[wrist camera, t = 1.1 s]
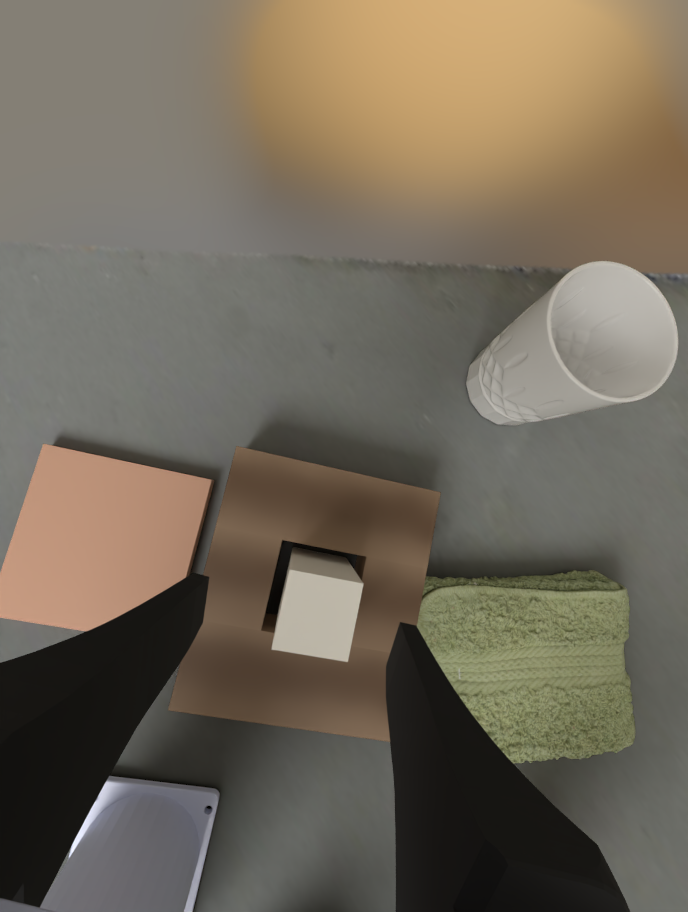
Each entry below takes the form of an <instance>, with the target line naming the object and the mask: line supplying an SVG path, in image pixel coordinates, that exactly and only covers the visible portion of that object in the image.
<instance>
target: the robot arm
mask: <svg viewBox="0 0 688 912" xmlns="http://www.w3.org/2000/svg"><path fill="white" fill-rule="evenodd" d="M208 584H209V577H208V576H204V575H200V574H196V573H193V574H191V575H189V576H188V577H186V578H184V579H182V580H181V581H179V582H178V583H176V584H174V585H173V586H171V587H169V588H168V589H166V590H164V591H163V592H161V593H159V594H158V595H156V596H154V597H153V598H151V599H149V600H147V601H146V602H144V603H142V604H141V605H139V606H137V607H135V608H133V609H131V610H129V611H128V612H126V613H124V614H122V615H120V616H118V617H116V618H114V619H112V620H110V621H108V622H106V623H104V624H102V625H100V626H98V627H95V628H93V629H91V630H89V631H86V632H84V633H82V634H80V635H77V636H75V637H72V638H70V639H67V640H65V641H62V642H59V643H57V644H54V645H51V646H49V647H46V648H44V649H41V650H38V651H36V652H33V653H30V654H27V655H24V656H21V657H18V658H15V659H12V660H8V661H5V662H2V663H0V912H193V908H194V904H195V900H196V896H197V891H198V887H199V883H200V879H201V874H202V870H203V866H204V861H205V857H206V853H207V849H208V844H209V840H210V836H211V832H212V827H213V823H214V819H215V815H216V810H217V806H218V802H219V797H220V794H219V791H218V790H217V789H214V788H207V787H198V786H190V785H182V784H173V783H165V782H157V781H148V780H140V779H132V778H123V777H115V776H109V775H110V774H111V772H112V770H113V768H114V766H115V764H116V763H117V761H118V759H119V757H120V756H121V754H122V752H123V750H124V749H125V747H126V745H127V743H128V742H129V740H130V738H131V736H132V735H133V733H134V731H135V729H136V728H137V726H138V725H139V723H140V721H141V720H142V718H143V717H144V715H145V713H146V712H147V711H148V709H149V708H150V706H151V705H152V703H153V702H154V700H155V699H156V697H157V696H158V694H159V693H160V691H161V690H162V689H163V687H164V686H165V684H166V683H167V681H168V680H169V678H170V677H171V675H172V674H173V672H174V671H175V669H176V668H177V667H178V665H179V664H180V662H181V661H182V659H183V658H184V656H185V655H186V653H187V652H188V650H189V648H190V646H191V645H192V643H193V641H194V639H195V637H196V635H197V633H198V631H199V629H200V627H201V626H202V624H203V619H204V612H205V605H206V598H207V591H208ZM386 705H387V715H388V725H389V735H390V744H391V754H392V764H393V774H394V788H395V827H396V912H630V910H629V908H628V905H627V903H626V901H625V899H624V896H623V894H622V892H621V890H620V888H619V886H618V884H617V882H616V880H615V878H614V876H613V874H612V872H611V870H610V868H609V866H608V864H607V862H606V860H605V858H604V856H603V854H602V853H601V851H600V849H599V847H598V845H597V844H596V843H595V842H594V841H592V840H591V839H590V838H589V837H588V836H587V835H586V834H585V833H584V832H582V831H581V830H580V829H579V828H578V827H577V826H576V825H575V824H574V823H573V822H571V821H570V820H569V819H568V818H567V817H566V816H565V815H564V814H563V813H561V812H560V811H559V810H558V809H557V808H556V807H555V806H554V805H553V804H552V803H551V802H550V801H549V800H548V799H547V798H546V797H545V796H544V795H543V794H542V793H541V792H540V791H539V790H538V789H537V788H536V787H535V786H534V785H533V784H532V783H531V782H530V781H529V780H528V779H527V778H526V777H525V776H524V775H523V774H522V773H521V772H520V771H519V770H518V769H517V767H516V766H515V765H514V764H513V763H512V762H511V761H510V760H509V759H508V757H507V756H506V755H505V754H504V753H503V752H502V751H501V750H500V748H499V747H498V746H497V745H496V744H495V743H494V741H493V740H492V739H491V738H490V737H489V735H488V734H487V733H486V732H485V730H484V729H483V728H482V726H481V725H480V724H479V723H478V721H477V720H476V719H475V718H474V716H473V715H472V714H471V712H470V711H469V710H468V708H467V707H466V705H465V704H464V703H463V701H462V700H461V698H460V697H459V695H458V694H457V692H456V691H455V690H454V688H453V687H452V685H451V683H450V682H449V680H448V679H447V677H446V676H445V674H444V672H443V671H442V669H441V667H440V666H439V664H438V662H437V661H436V659H435V657H434V656H433V654H432V652H431V650H430V649H429V647H428V645H427V643H426V642H425V640H424V638H423V636H422V635H421V633H420V631H419V629H418V628H417V626H416V625H411V624H407V623H403V622H400V623H399V627H398V630H397V633H396V636H395V639H394V642H393V645H392V649H391V652H390V655H389V658H388V661H387V664H386ZM206 806H211V807H212V808H211V809H208V808H207V807H206ZM71 846H72V847H71ZM70 848H71V851H70V854H69V858H68V861H67V862H66V864H65V866H64V867H63V869H62V870H61V872H60V874H59V875H58V877H57V878H56V880H55V882H54V883H53V881H54V879H55V877H56V875H57V873H58V871H59V869H60V867H61V865H62V863H63V861H64V859H65V857H66V855H67V853H68V851H69V850H70ZM52 883H53V885H52V886H51V884H52ZM50 886H51V888H50ZM49 888H50V890H49ZM48 890H49V891H48ZM47 892H48V893H47Z"/></svg>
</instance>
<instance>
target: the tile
mask: <svg viewBox="0 0 688 912" xmlns="http://www.w3.org/2000/svg"><path fill="white" fill-rule="evenodd" d="M214 481H215V480H211V479H207V478H202V477H197V476H193V475H188V474H183V473H179V472H174V471H169V470H165V469H160V468H155V467H151V466H146V465H141V464H137V463H132V462H127V461H123V460H118V459H113V458H109V457H104V456H99V455H95V454H90V453H85V452H81V451H76V450H71V449H67V448H62V447H57V446H53V445H47V444H43V446H42V449H41V452H40V455H39V458H38V461H37V464H36V467H35V470H34V473H33V476H32V479H31V482H30V485H29V488H28V491H27V494H26V497H25V500H24V503H23V506H22V509H21V512H20V515H19V518H18V521H17V524H16V527H15V530H14V533H13V536H12V539H11V542H10V545H9V549H8V552H7V555H6V558H5V561H4V564H3V567H2V570H1V573H0V617H1V618H7V619H13V620H19V621H25V622H32V623H38V624H44V625H50V626H56V627H63V628H69V629H75V630H81V631H89V630H91V629H93V628H95V627H98V626H100V625H102V624H104V623H106V622H108V621H110V620H112V619H114V618H116V617H118V616H120V615H122V614H124V613H126V612H128V611H129V610H131V609H133V608H135V607H137V606H139V605H141V604H142V603H144V602H146V601H147V600H149V599H151V598H153V597H154V596H156V595H158V594H159V593H161V592H163V591H164V590H166V589H168V588H169V587H171V586H173V585H174V584H176V583H178V582H179V581H181V580H182V579H184V578H186V577H188V576H189V575H190V571H191V568H192V564H193V560H194V556H195V553H196V549H197V545H198V541H199V537H200V534H201V530H202V526H203V522H204V518H205V515H206V511H207V507H208V503H209V500H210V496H211V492H212V488H213V484H214Z"/></svg>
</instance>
